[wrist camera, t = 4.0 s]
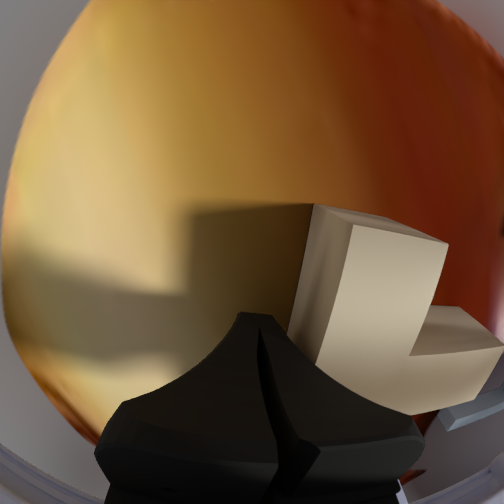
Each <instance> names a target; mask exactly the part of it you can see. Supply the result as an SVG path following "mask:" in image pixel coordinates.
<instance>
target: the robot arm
mask: <svg viewBox="0 0 504 504" xmlns="http://www.w3.org/2000/svg"><path fill="white" fill-rule="evenodd" d="M424 447H425V440H424V438H423V436H422V434H421V432H420V431H419V429H418V427H417V425H416V423H415V422H414V420H413V418H412V416H410V415H407V414H404V413H401V412H398V411H396V410H393V409H390V408H387V407H384V406H382V405H379V404H377V403H375V402H373V401H371V400H369V399H366V398H364V397H362V396H360V395H359V394H357V393H355V392H353V391H351V390H350V389H348V388H346V387H345V386H343V385H342V384H340V383H339V382H337V381H336V380H334V379H333V378H331V377H330V376H329V375H327V374H326V373H325V372H323V371H322V370H321V369H320V368H319V367H317V366H316V365H315V364H314V363H313V362H312V361H310V360H309V359H308V358H307V357H306V356H305V355H304V354H303V353H302V352H301V351H300V350H299V348H298V347H297V346H296V345H295V344H294V343H293V342H292V341H291V339H290V338H289V337H288V336H287V335H286V333H285V332H284V331H283V329H282V328H281V327H280V325H279V324H278V323H277V321H276V320H275V319H274V317H273V316H272V315H265V314H256V313H248V312H240V313H238V314H237V318H236V320H235V322H234V324H233V326H232V327H231V329H230V330H229V332H228V333H227V334H226V336H225V337H224V338H223V340H222V341H221V342H220V343H219V344H218V345H217V347H216V348H215V349H214V350H213V351H212V352H211V353H210V354H209V355H208V356H207V357H206V358H205V359H203V360H202V361H201V362H200V363H199V364H197V365H196V366H195V367H193V368H192V369H191V370H189V371H188V372H187V373H185V374H184V375H182V376H181V377H179V378H177V379H176V380H174V381H172V382H170V383H168V384H166V385H164V386H163V387H161V388H159V389H157V390H155V391H152V392H150V393H147V394H144V395H141V396H139V397H136V398H133V399H130V400H126V401H123V402H122V403H121V405H120V406H119V407H118V409H117V410H116V411H115V413H114V414H113V416H112V417H111V418H110V420H109V421H108V423H107V424H106V426H105V428H104V430H103V432H102V435H101V437H100V439H99V441H98V443H97V446H96V448H95V452H94V455H95V458H96V461H97V462H98V464H99V466H100V468H101V469H102V471H103V473H104V474H105V476H106V478H107V479H108V481H109V482H110V487H109V490H108V493H107V496H106V499H105V500H103V499H101V498H98V497H96V496H93V495H91V494H88V493H86V492H84V491H81V490H79V489H77V488H75V487H73V486H71V485H68V484H66V483H64V482H62V481H60V480H58V479H56V478H55V477H53V476H51V475H49V474H47V473H45V472H44V471H42V470H40V469H38V468H37V467H35V466H33V465H32V464H30V463H28V462H27V461H25V460H24V459H22V458H21V457H19V456H18V455H16V454H15V453H13V452H12V451H10V450H9V449H7V448H6V447H4V446H3V445H2V444H0V504H408V502H407V500H406V497H405V495H404V492H403V489H402V486H401V484H400V481H399V478H400V477H401V476H402V475H403V474H404V473H405V472H406V471H407V470H408V469H409V468H410V467H411V466H412V465H413V464H414V463H415V462H416V461H417V460H418V458H419V457H420V456H421V454H422V452H423V449H424ZM410 504H504V451H503V452H502V453H500V454H499V455H498V456H497V457H496V458H495V459H494V460H493V461H492V462H491V463H490V465H489V466H488V467H486V468H485V469H483V470H481V471H480V472H478V473H476V474H474V475H473V476H471V477H469V478H467V479H465V480H463V481H461V482H459V483H457V484H455V485H453V486H451V487H449V488H447V489H444V490H442V491H440V492H438V493H435V494H433V495H431V496H428V497H426V498H423V499H421V500H418V501H415V502H413V503H410Z"/></svg>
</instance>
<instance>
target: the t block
mask: <svg viewBox="0 0 504 504" xmlns="http://www.w3.org/2000/svg"><path fill="white" fill-rule="evenodd" d="M448 245H449V244H447V243H445V242H443V241H440V240H438V239H436V238H434V237H431V236H429V235H427V234H424V233H422V232H420V231H417V230H415V229H413V228H410V227H408V226H405V225H403V224H401V223H398V222H396V221H393V220H391V219H388V218H385V217H381V216H376V215H371V214H366V213H362V212H357V211H352V210H347V209H341V208H336V207H331V206H325V205H320V204H314V206H313V212H312V217H311V223H310V228H309V233H308V239H307V244H306V249H305V254H304V259H303V264H302V269H301V274H300V278H299V283H298V288H297V292H296V297H295V301H294V306H293V310H292V314H291V319H290V323H289V327H288V331H287V336H288V337H289V338H290V339H291V341H292V342H293V343H294V344H295V345H296V346H297V347H298V348H299V350H300V351H301V352H302V353H303V354H304V355H305V356H306V357H307V358H308V359H309V360H310V361H312V362H313V363H314V364H315V365H316V366H317V367H319V368H320V369H321V370H322V371H323V372H325V373H326V374H327V375H329V376H330V377H331V378H333V379H334V380H336V381H337V382H339V383H340V384H342V385H343V386H345V387H346V388H348V389H350V390H351V391H353V392H355V393H357V394H359V395H360V396H362V397H364V398H366V399H369V400H371V401H373V402H375V403H377V404H379V405H382V406H384V407H387V408H390V409H393V410H396V411H398V412H401V413H404V414H407V415H415V414H420V413H425V412H429V411H434V410H438V409H442V408H446V407H450V406H454V405H457V404H461V403H464V402H468V401H471V400H474V399H475V398H476V396H477V395H478V393H479V391H480V390H481V388H482V387H483V385H484V384H485V382H486V380H487V378H488V377H489V375H490V373H491V372H492V370H493V368H494V367H495V365H496V363H497V361H498V359H499V357H500V355H501V354H502V352H503V350H504V344H503V343H502V342H501V341H500V340H499V339H497V338H496V337H495V336H494V335H493V334H492V333H490V332H489V331H488V330H487V329H486V328H485V327H483V326H482V325H481V324H480V323H479V322H477V321H476V320H475V319H474V318H472V317H471V316H470V315H469V314H467V313H466V312H465V311H464V310H462V309H461V308H460V307H454V306H435V305H430V304H431V301H432V298H433V295H434V292H435V289H436V286H437V283H438V280H439V277H440V274H441V271H442V267H443V264H444V260H445V257H446V253H447V249H448Z"/></svg>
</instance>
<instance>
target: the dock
mask: <svg viewBox="0 0 504 504" xmlns="http://www.w3.org/2000/svg"><path fill="white" fill-rule="evenodd" d="M503 409H504V382H503V384H502V386H501V387H500V388H498V389H494V390H492V391H489V392H486V393H482V394H479V395H477V396H476V398H475V399H474V400H471V401H468V402H464V403H461V404H457V405H454V406H450V407H446V408H442V409H441V410H440V412H439V413H438V415H437V416H438V418H439V420H440V421H441V423H442V424H443V426H444V428H445V429H446V431H450V430H453V429H456V428H459V427H462V426H464V425H467V424H470V423H473V422H475V421H478V420H480V419H483V418H485V417H487V416H490V415H492V414H494V413H496V412H498V411H501V410H503Z"/></svg>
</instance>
